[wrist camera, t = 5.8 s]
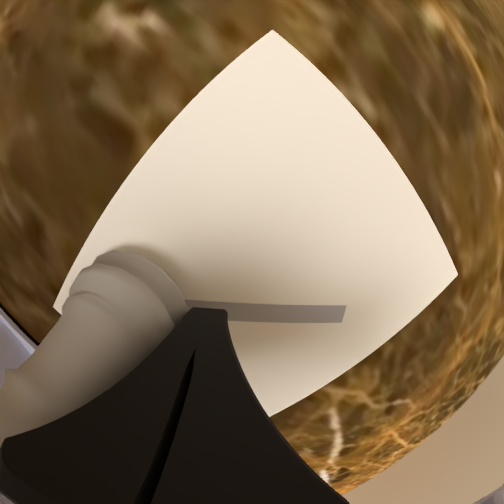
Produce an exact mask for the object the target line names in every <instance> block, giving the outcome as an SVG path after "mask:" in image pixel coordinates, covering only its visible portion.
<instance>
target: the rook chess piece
mask: <svg viewBox="0 0 504 504" xmlns="http://www.w3.org/2000/svg"><path fill="white" fill-rule="evenodd" d="M188 311H189V310H188V307H187V305H186V303H185V301H184V299H183V297H182V295H181V293H180V290H179V288H178V286H177V285H176V283H175V282H174V281H173V280H172V279H171V278H170V277H169V276H168V275H167V274H166V273H165V272H164V270H163V269H162V268H161V267H159V266H157V265H156V264H154V263H152V262H150V261H149V260H147V259H145V258H144V257H142V256H140V255H137V254H135V253H129V252H123V251H117V250H112V251H109V252H106V253H104V254H101V255H99V256H97V257H96V259H95V260H94V262H93V263H92V265H91V266H88V267H85V268H83V269H82V270H81V271H80V273H79V274H78V275H77V277H76V278H75V280H74V282H73V284H72V285H71V287H70V289H69V297H67V299H66V301H65V302H64V304H63V306H62V315H61V317H60V319H59V320H58V322H57V323H56V324H55V325H54V327H53V328H52V329H51V330H50V332H49V333H48V334H47V336H46V337H45V338H44V339H43V341H42V342H41V343H40V345H39V346H38V347H37V349H36V350H35V351H34V353H33V354H32V355H31V356H30V357H29V358H28V359H27V360H26V361H25V362H24V363H23V364H22V365H21V366H20V367H19V368H18V369H5V383H4V384H3V386H2V387H1V389H0V447H1V445H2V443H3V441H4V439H5V438H7V437H11V436H14V435H17V434H20V433H23V432H26V431H29V430H32V429H35V428H38V427H41V426H43V425H45V424H48V423H50V422H52V421H54V420H57V419H59V418H61V417H63V416H65V415H67V414H68V413H70V412H72V411H74V410H76V409H78V408H80V407H82V406H83V405H85V404H87V403H88V402H90V401H91V400H93V399H94V398H96V397H97V396H99V395H100V394H102V393H103V392H105V391H106V390H108V389H109V388H111V387H112V386H113V385H115V384H116V383H117V382H118V381H120V380H121V379H122V378H124V377H125V376H126V375H127V374H128V373H130V372H131V371H132V370H133V369H134V368H135V367H137V366H138V365H139V364H140V363H141V362H142V361H143V360H144V359H145V358H146V357H147V356H148V355H149V354H150V353H151V352H152V351H154V350H155V348H156V347H157V346H158V345H159V344H160V343H161V342H162V341H163V340H164V339H165V338H166V337H167V336H168V335H169V334H170V333H171V331H172V330H173V329H174V328H175V327H176V326H177V325H178V323H179V322H180V321H181V320H182V319H183V317H184V316H185V315H186V314H187V312H188Z"/></svg>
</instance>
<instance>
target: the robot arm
mask: <svg viewBox="0 0 504 504" xmlns="http://www.w3.org/2000/svg"><path fill="white" fill-rule="evenodd" d="M37 347H38V346H37V345H36V344H35V343H34V342H33V341H32V340H31V339H30V338H29V337H28V336H27V335H26V334H25V333H24V332H23V331H22V330H21V329H20V328H19V327H18V326H17V325H16V324H15V323H14V322H13V321H12V320H11V319H10V318H9V317H8V316H7V314H6V313H5V312H4V311H3V310H2V309H1V308H0V389H1V387H2V386H3V384H4V383H5V369H18V368H19V367H20V366H21V365H22V364H23V363H24V362H25V361H26V360H27V359H28V358H29V357H30V356H31V355H32V354H33V353H34V351H35V350H36V349H37ZM0 504H349V502H348V501H347V500H346V499H345V498H344V497H342V496H341V495H340V494H339V493H338V492H336V491H335V490H334V489H333V488H332V487H330V486H329V485H328V484H327V483H326V482H325V481H324V480H323V479H322V478H320V477H319V476H318V475H317V474H316V473H315V472H314V471H313V470H312V469H311V468H310V467H309V466H308V465H307V464H306V462H305V461H304V460H303V459H302V458H301V457H300V456H299V455H298V454H297V453H296V452H295V450H294V449H293V448H292V447H291V445H290V444H289V443H288V442H287V440H286V439H285V438H284V437H283V435H282V434H281V433H280V432H279V430H278V429H277V428H276V426H275V425H274V424H273V422H272V421H271V419H270V418H269V416H268V415H267V413H266V412H265V410H264V409H263V407H262V405H261V404H260V402H259V400H258V399H257V397H256V395H255V393H254V392H253V390H252V388H251V386H250V384H249V382H248V380H247V378H246V376H245V374H244V371H243V369H242V367H241V365H240V362H239V360H238V357H237V354H236V351H235V349H234V346H233V343H232V339H231V336H230V331H229V327H228V312H227V311H226V310H225V309H214V308H200V307H192V308H191V309H190V310H189V311H188V312H187V314H186V315H185V316H184V317H183V319H182V320H181V321H180V322H179V323H178V325H177V326H176V327H175V328H174V329H173V330H172V331H171V333H170V334H169V335H168V336H167V337H166V338H165V339H164V340H163V341H162V342H161V343H160V344H159V345H158V346H157V347H156V348H155V350H154V351H152V352H151V353H150V354H149V355H148V356H147V357H146V358H145V359H144V360H143V361H142V362H141V363H140V364H139V365H138V366H137V367H135V368H134V369H133V370H132V371H131V372H130V373H128V374H127V375H126V376H125V377H124V378H122V379H121V380H120V381H118V382H117V383H116V384H115V385H113V386H112V387H111V388H109V389H108V390H106V391H105V392H103V393H102V394H100V395H99V396H97V397H96V398H94V399H93V400H91V401H90V402H88V403H87V404H85V405H83V406H82V407H80V408H78V409H76V410H74V411H72V412H70V413H68V414H67V415H65V416H63V417H61V418H59V419H57V420H54V421H52V422H50V423H48V424H45V425H43V426H41V427H38V428H35V429H32V430H29V431H26V432H23V433H20V434H17V435H14V436H11V437H7V438H5V439H4V441H3V443H2V445H1V447H0ZM473 504H504V484H503V485H502V486H501V487H499V488H498V489H496V490H495V491H493V492H492V493H490V494H489V495H487V496H486V497H483V498H482V499H480V500H479V501H477V502H475V503H473Z"/></svg>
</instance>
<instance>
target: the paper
mask: <svg viewBox="0 0 504 504" xmlns="http://www.w3.org/2000/svg"><path fill="white" fill-rule="evenodd" d="M112 250H117V251H123V252H129V253H135V254H137V255H140V256H142V257H144V258H145V259H147V260H149V261H150V262H152V263H154V264H156V265H157V266H159V267H161V268H162V269H163V270H164V272H165V273H166V274H167V275H168V276H169V277H170V278H171V279H172V280H173V281H174V282H175V283H176V285H177V286H178V288H179V290H180V293H181V295H182V297H183V299H184V301H185V303H186V305H187V307H188V310H190V309H191V308H192V307H200V308H214V309H225V310H226V311H227V312H228V327H229V331H230V336H231V339H232V343H233V346H234V349H235V351H236V354H237V357H238V360H239V362H240V365H241V367H242V369H243V371H244V374H245V376H246V378H247V380H248V382H249V384H250V386H251V388H252V390H253V392H254V393H255V395H256V397H257V399H258V400H259V402H260V404H261V405H262V407H263V409H264V410H265V412H266V413H267V415H268V416H269V417H270V416H272V415H274V414H276V413H278V412H280V411H282V410H284V409H285V408H287V407H289V406H291V405H293V404H294V403H296V402H298V401H300V400H301V399H303V398H305V397H307V396H308V395H310V394H312V393H313V392H315V391H316V390H318V389H320V388H321V387H323V386H324V385H326V384H328V383H329V382H331V381H332V380H334V379H335V378H337V377H338V376H340V375H341V374H343V373H344V372H346V371H347V370H349V369H350V368H351V367H353V366H354V365H356V364H357V363H359V362H360V361H361V360H363V359H364V358H365V357H367V356H368V355H369V354H371V353H372V352H373V351H375V350H376V349H377V348H379V347H380V346H381V345H382V344H384V343H385V342H386V341H387V340H389V339H390V338H391V337H392V336H394V335H395V334H396V333H397V332H398V331H400V330H401V329H402V328H403V327H404V326H405V325H407V324H408V323H409V322H410V321H411V320H412V319H413V318H414V317H416V316H417V315H418V314H419V313H420V312H421V311H422V310H423V309H424V308H425V307H426V306H428V305H429V304H430V303H431V302H432V301H433V300H434V299H435V298H436V297H437V296H438V295H439V294H440V293H441V292H442V291H443V290H444V289H445V288H446V287H447V286H448V285H449V284H450V283H451V282H452V280H453V279H454V278H455V277H456V276H457V275H458V273H457V271H456V269H455V266H454V264H453V262H452V259H451V257H450V255H449V253H448V251H447V249H446V246H445V244H444V242H443V240H442V238H441V236H440V234H439V232H438V230H437V228H436V226H435V225H434V223H433V221H432V219H431V217H430V215H429V214H428V212H427V210H426V208H425V206H424V205H423V203H422V201H421V200H420V198H419V196H418V195H417V193H416V191H415V190H414V188H413V186H412V185H411V183H410V182H409V180H408V178H407V177H406V175H405V174H404V172H403V171H402V169H401V168H400V166H399V165H398V163H397V162H396V161H395V159H394V158H393V156H392V155H391V154H390V152H389V151H388V149H387V148H386V147H385V145H384V144H383V143H382V141H381V140H380V139H379V137H378V136H377V135H376V133H375V132H374V131H373V130H372V128H371V127H370V126H369V125H368V123H367V122H366V121H365V120H364V119H363V117H362V116H361V115H360V114H359V113H358V111H357V110H356V109H355V108H354V107H353V106H352V104H351V103H350V102H349V101H348V100H347V99H346V98H345V97H344V96H343V94H342V93H341V92H340V91H339V90H338V89H337V88H336V87H335V86H334V85H333V84H332V83H331V82H330V81H329V80H328V79H327V78H326V77H325V76H324V75H323V74H322V73H321V72H320V71H319V70H318V69H317V68H316V67H315V66H314V65H313V64H312V63H311V62H310V61H309V60H307V59H306V58H305V57H304V56H303V55H302V54H301V53H300V52H299V51H297V50H296V49H295V48H294V47H293V46H292V45H290V44H289V43H288V42H287V41H286V40H285V39H283V38H282V37H281V36H280V35H278V34H277V33H276V32H275V31H273V30H271V31H270V32H269V33H267V34H266V35H265V36H264V37H262V38H261V39H260V40H258V41H257V42H256V43H255V44H253V45H252V46H251V47H250V48H248V49H247V50H246V51H245V52H243V53H242V54H241V55H240V56H239V57H238V58H236V59H235V60H234V61H233V62H232V63H231V64H229V65H228V66H227V67H226V68H225V69H224V70H223V71H222V72H221V73H220V74H218V75H217V76H216V77H215V78H214V79H213V80H212V81H211V82H210V83H209V84H208V85H207V86H206V87H205V88H204V89H203V90H202V91H201V92H200V93H199V94H198V95H197V96H196V97H195V98H194V99H193V100H192V101H191V102H190V103H189V104H188V105H187V106H186V107H185V108H184V109H183V110H182V111H181V112H180V114H179V115H178V116H177V117H176V118H175V119H174V120H173V121H172V122H171V124H170V125H169V126H168V127H167V128H166V129H165V130H164V132H163V133H162V134H161V135H160V136H159V137H158V139H157V140H156V141H155V142H154V143H153V145H152V146H151V147H150V148H149V150H148V151H147V152H146V153H145V155H144V156H143V157H142V158H141V160H140V161H139V162H138V164H137V165H136V166H135V168H134V169H133V170H132V172H131V173H130V174H129V176H128V177H127V178H126V180H125V181H124V183H123V184H122V185H121V187H120V188H119V190H118V191H117V193H116V194H115V196H114V197H113V198H112V200H111V201H110V203H109V204H108V206H107V208H106V209H105V211H104V212H103V214H102V215H101V217H100V218H99V220H98V222H97V223H96V225H95V227H94V228H93V230H92V232H91V233H90V235H89V237H88V238H87V240H86V242H85V244H84V245H83V247H82V249H81V251H80V253H79V254H78V256H77V258H76V260H75V262H74V264H73V266H72V268H71V270H70V271H69V273H68V275H67V277H66V280H65V282H64V284H63V286H62V288H61V290H60V292H59V294H58V296H57V299H56V301H55V303H54V305H53V307H54V308H55V309H56V310H57V311H58V312H59V313H60V314H61V315H62V306H63V304H64V302H65V301H66V299H67V297H69V289H70V287H71V285H72V284H73V282H74V280H75V278H76V277H77V275H78V274H79V273H80V271H81V270H82V269H83V268H85V267H88V266H91V265H92V263H93V262H94V260H95V259H96V257H97V256H99V255H101V254H104V253H106V252H109V251H112Z"/></svg>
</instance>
